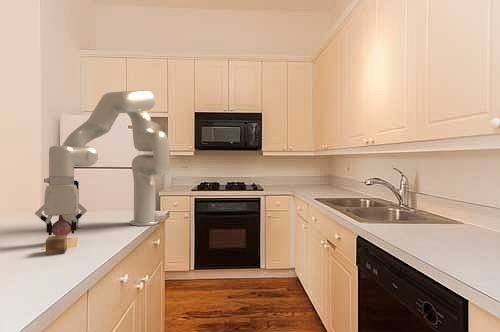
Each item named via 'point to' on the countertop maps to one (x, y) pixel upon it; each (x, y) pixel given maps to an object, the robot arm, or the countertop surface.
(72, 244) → the letter
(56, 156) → the robot arm
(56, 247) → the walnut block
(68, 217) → the travel mug
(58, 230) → the vegetable
